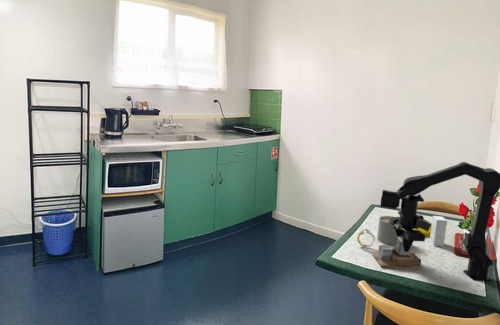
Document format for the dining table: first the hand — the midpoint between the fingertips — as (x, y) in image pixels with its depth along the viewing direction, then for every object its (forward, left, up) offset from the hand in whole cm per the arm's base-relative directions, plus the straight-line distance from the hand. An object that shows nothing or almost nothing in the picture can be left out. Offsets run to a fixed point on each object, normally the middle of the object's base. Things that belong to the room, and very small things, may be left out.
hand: (403, 249), depth 137 cm
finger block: (0, 0, -2) cm, 2 cm away
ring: (+13, +11, -6) cm, 18 cm away
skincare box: (+20, -23, -6) cm, 31 cm away
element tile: (+37, -21, -6) cm, 43 cm away
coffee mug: (+23, -3, -6) cm, 24 cm away
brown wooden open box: (0, +3, -5) cm, 6 cm away
